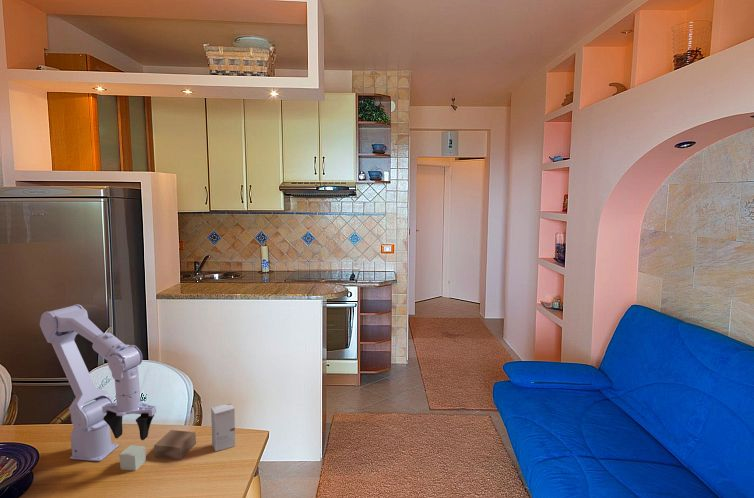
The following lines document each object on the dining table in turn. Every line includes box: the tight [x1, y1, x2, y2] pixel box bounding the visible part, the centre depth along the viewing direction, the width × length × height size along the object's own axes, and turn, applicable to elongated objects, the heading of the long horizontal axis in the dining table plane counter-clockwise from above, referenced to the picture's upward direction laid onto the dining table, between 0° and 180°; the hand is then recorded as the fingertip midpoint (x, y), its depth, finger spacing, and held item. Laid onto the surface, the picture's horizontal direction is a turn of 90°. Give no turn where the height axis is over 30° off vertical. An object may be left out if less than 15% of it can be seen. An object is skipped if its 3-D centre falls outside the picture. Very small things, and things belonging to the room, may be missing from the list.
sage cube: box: [119, 444, 147, 471], centre depth 124 cm, size 4×4×4 cm
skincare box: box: [210, 402, 236, 452], centre depth 133 cm, size 6×4×12 cm
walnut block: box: [154, 429, 197, 461], centre depth 131 cm, size 8×8×4 cm
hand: (131, 437), depth 123 cm, fingers open, 7 cm apart
